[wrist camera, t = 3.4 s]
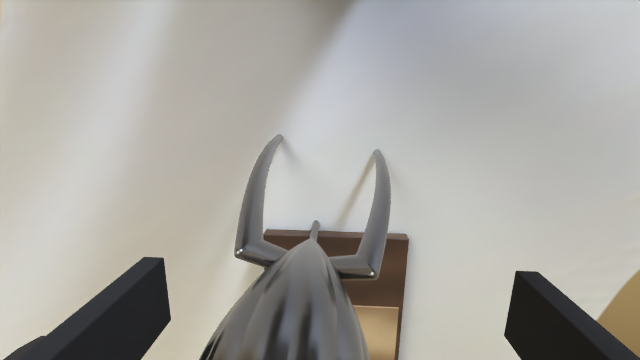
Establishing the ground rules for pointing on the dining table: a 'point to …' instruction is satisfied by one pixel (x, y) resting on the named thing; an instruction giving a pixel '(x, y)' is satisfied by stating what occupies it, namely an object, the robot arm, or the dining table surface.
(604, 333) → the robot arm
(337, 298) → the juicer
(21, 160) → the dining table surface
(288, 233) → the board
